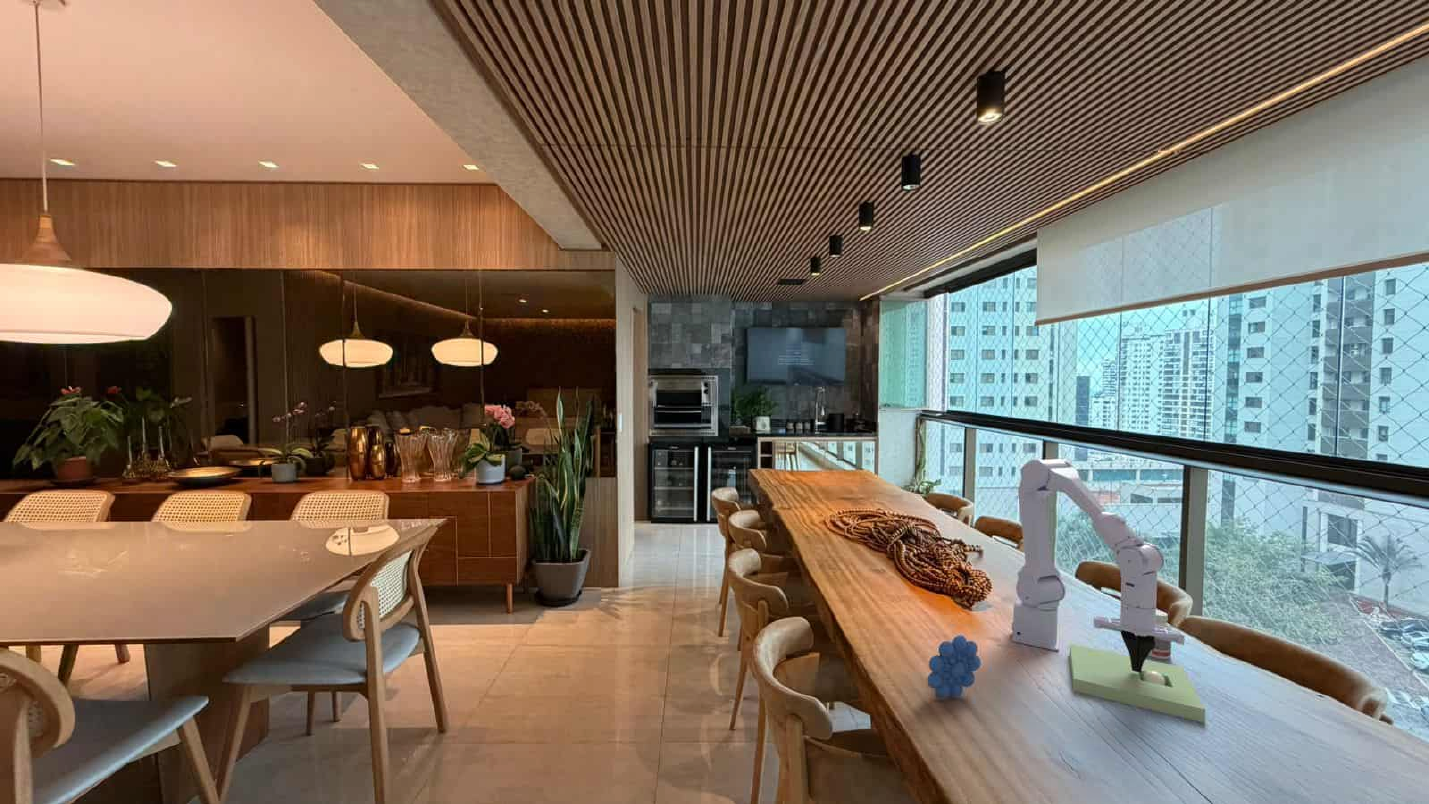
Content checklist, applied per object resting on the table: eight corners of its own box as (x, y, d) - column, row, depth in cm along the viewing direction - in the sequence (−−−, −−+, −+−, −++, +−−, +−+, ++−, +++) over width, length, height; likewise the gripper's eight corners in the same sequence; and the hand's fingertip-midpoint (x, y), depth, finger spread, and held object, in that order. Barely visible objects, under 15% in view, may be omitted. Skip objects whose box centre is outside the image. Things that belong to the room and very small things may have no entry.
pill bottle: (1174, 656, 125) (1175, 613, 125) (1165, 662, 122) (1166, 619, 122) (1145, 646, 130) (1147, 606, 130) (1136, 652, 127) (1137, 610, 127)
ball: (1170, 691, 108) (1149, 692, 109) (1166, 687, 111) (1146, 688, 112) (1162, 671, 109) (1141, 673, 110) (1159, 668, 112) (1139, 670, 113)
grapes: (963, 682, 112) (964, 624, 112) (987, 700, 106) (989, 639, 106) (913, 689, 109) (915, 630, 109) (936, 708, 103) (937, 645, 103)
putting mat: (1073, 690, 110) (1073, 678, 110) (1069, 654, 125) (1069, 643, 125) (1204, 723, 100) (1205, 709, 100) (1182, 679, 115) (1183, 667, 115)
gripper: (1096, 602, 112) (1094, 668, 112) (1188, 618, 104) (1186, 689, 105) (1093, 592, 118) (1091, 654, 118) (1180, 606, 110) (1178, 673, 111)
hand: (1136, 669), depth 112 cm, fingers closed
